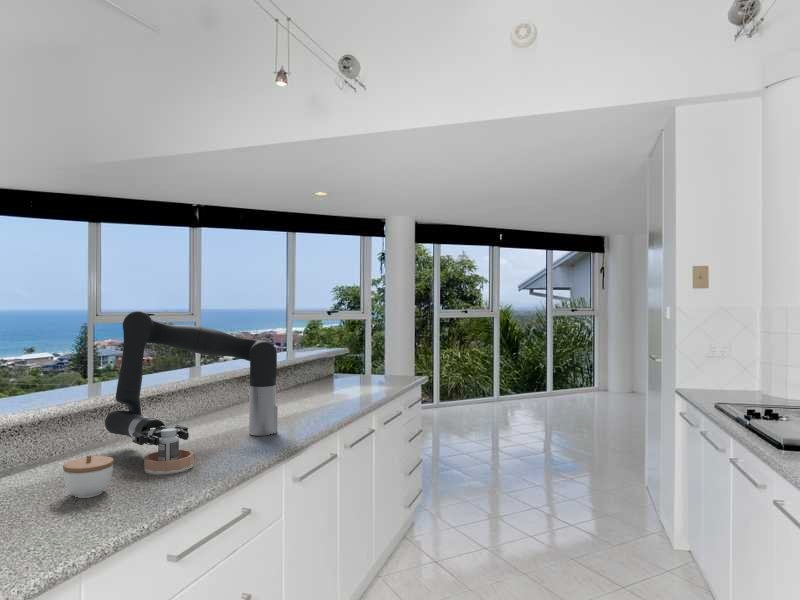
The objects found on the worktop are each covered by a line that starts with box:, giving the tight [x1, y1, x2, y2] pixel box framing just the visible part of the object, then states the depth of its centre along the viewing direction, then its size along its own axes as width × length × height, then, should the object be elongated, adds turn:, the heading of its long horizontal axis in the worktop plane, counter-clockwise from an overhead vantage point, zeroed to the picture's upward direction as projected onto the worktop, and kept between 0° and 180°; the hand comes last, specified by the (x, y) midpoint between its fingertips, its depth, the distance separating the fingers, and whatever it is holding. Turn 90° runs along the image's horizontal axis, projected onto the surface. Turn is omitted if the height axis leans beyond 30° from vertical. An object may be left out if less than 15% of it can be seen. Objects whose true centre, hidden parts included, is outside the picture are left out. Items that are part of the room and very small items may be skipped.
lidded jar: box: [62, 454, 115, 499], centre depth 132 cm, size 11×11×9 cm
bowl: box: [143, 448, 195, 476], centre depth 153 cm, size 13×13×4 cm
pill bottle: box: [157, 428, 180, 461], centre depth 153 cm, size 5×5×10 cm
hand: (172, 438), depth 152 cm, fingers open, 8 cm apart
